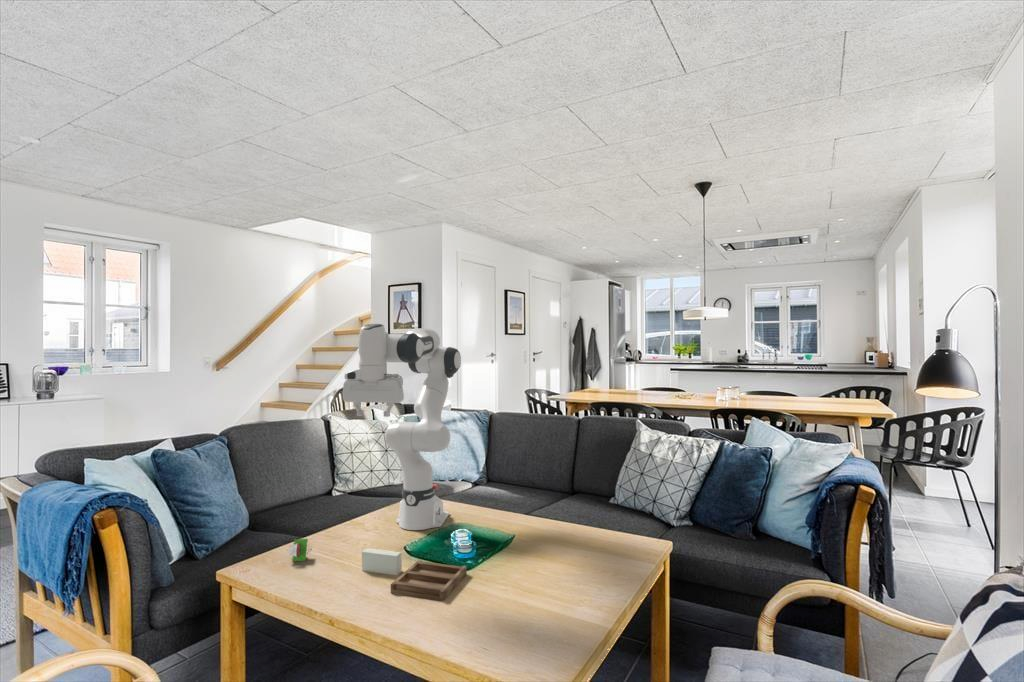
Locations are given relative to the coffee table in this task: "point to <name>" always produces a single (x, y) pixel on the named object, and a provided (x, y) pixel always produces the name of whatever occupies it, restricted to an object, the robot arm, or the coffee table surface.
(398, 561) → the white rectangular block
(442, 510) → the robot arm
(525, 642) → the coffee table surface
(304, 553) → the geometric puzzle
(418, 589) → the brown wooden flat frame
